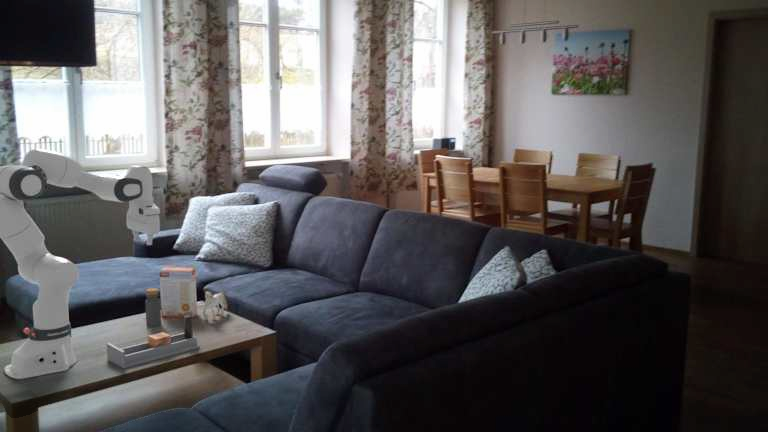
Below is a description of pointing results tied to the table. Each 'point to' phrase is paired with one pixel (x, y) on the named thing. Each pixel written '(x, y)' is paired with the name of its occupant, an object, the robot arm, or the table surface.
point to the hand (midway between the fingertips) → (143, 243)
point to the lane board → (148, 351)
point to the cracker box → (178, 292)
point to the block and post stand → (165, 339)
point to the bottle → (153, 308)
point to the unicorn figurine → (214, 303)
